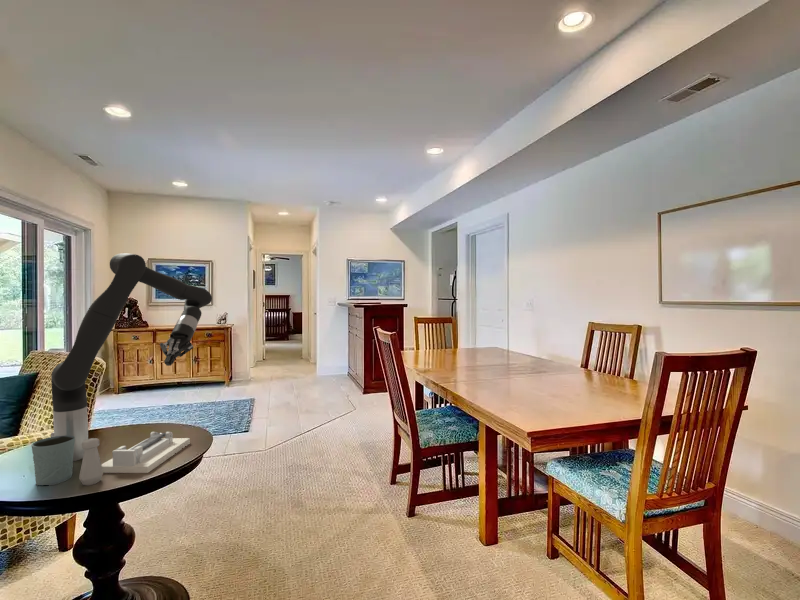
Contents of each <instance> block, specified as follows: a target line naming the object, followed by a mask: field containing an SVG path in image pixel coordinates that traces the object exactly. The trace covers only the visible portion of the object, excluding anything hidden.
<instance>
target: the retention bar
mask: <svg viewBox="0 0 800 600" xmlns="http://www.w3.org/2000/svg"><path fill="white" fill-rule="evenodd" d="M165 434H166V432H157V434H155V435H153V436H152V437H150V436H149V437H148V439H147V438H146V439H147V440H146V439H144V440H145V441H144V440H142V441H143V442H142V441H141V442H142V443H140V442H139V443H140V444H138V443H137V444H138V445H137V444H136V445H137V446H143V450H144V449H145V448H147V447H148V446H150V445H152V444H153V443H155V442H156V441H158V440H160V439H161V438H165ZM134 446H135V445H134ZM137 446H135V447H133V446H132V447H133V448H131V447H130V448H131V449H130V448H129V449H130V450H133V449H134V448H136V447H137Z"/></svg>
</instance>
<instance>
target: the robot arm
mask: <svg viewBox="0 0 800 600" xmlns="http://www.w3.org/2000/svg"><path fill="white" fill-rule="evenodd" d="M146 263H147V262H146V261H145V259H144V258H143V257H142V256H141V255H139V254H136V253H129V252H128V253H126V252H123V253H121V252H120V253H117V254H114V255H113V257H111V258H110V260H109V268H110V270H111V272H112V273H113V274H114V276H113V279H112V280H111V282H110V284H109V285H108V287H107V288H106V289H105V290H104V291H103V292H102V293H101V294H100V295H99V296H98V297H97V298H96V299H95V300H94V301H93V302H92V303H91V305H90V306H89V308H88V309H87V311H86V313H85V315H84V317H83V319H82V320H81V323H80V326H79V328H78V330H77V332H76V333H77V334H76V337H75V340H74V343H73V346H72V348H71V349H70V351H69V352H68V354H67V356H66V358H65V359H64V361H62V362H60V363H58V364H57V365H56V366H55V367H54V368H53V369H52V372H51V375H50V376H51V378H50V379H51V400H52V414H53V416H52V417H53V419H52V420H53V432H51V433H50V437H55V436H63V435H71V436H74V437H75V443H74V450H73V451H74V453H73V462H77V461H79V460H83V455H84V449H82V442H83V441H84V440H87V439H89V423H88V422H89V418H88V398H87V391H86V381H87V379H88V377H89V376H90V375H89V374H90V372H91V370H92V366H93V364H94V362H95V360H96V357H97V355H98V353H99V351H100V350H101V349H102V347H103V345H104V344H105V341H107V339H108V338H109V335H110V333H111V332H112V330H113V328H114V327H115V324H116V323H117V320H118V319H119V317H120V315H121V312H122V310H123V309H124V307H125V305H126V303H127V301H128V300H129V297H130V295H131V293H132V292H133V290H134V289H135V287H136V286H137V284H138V283H142V284H144V285H147V286H149V287H151V288H153V289H156V290H157V291H160V292H162V293H164V294H166V295H168V296H170V297H172V298H174V299H177V300H180V301H184V305H183V311H182V313H181V315H180V317H178V319H177V321H176V323H175V325H174V326H173V327H174V328H173V329H172V332H171V333H170V337H169V338H168V339H167V341H166V342H164V343H163V342H161V343H159V346H160V349H161V351H162V353H163V354H164V355H165V359H164V361H163V362H164V364H165V365H166V367H169V366H170V367H171V366H172V365H173V364H174V363H175V360H176V359H177V358H178V357H180V358H182V357H183V356H185V355H186V354H187V353H188V352H190V351H191V350H193V349H194V345H193V343H192V342H191V341H192V338H193V336H194V334H195V332H196V331H197V326H198V324H199V322H200V320H201V317H202V314H203V313H202V309H201V308H204V307H205V306H208V305H209V304H211V303H212V301H213V296H212V294H211V293H210V292H209V290H207V289H205V288H203V287H199V286H195V285H191V284H187V283H185V282H183V281H181V280H179V279H177V278H175V277H173V276H170V275H167V274H164V273H162V272H159V271H156V270H154V269H152V268H150V267H147V264H146Z"/></svg>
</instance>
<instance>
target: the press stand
mask: <svg viewBox="0 0 800 600" xmlns="http://www.w3.org/2000/svg"><path fill="white" fill-rule="evenodd" d="M157 433H158V432H157V431H151V432H150V434H149V437H148V438H150V437H152V436H153V435H155V434H157ZM165 433H166V434H165V436H164V437H163V438H161V439H160V440H158V441H156V442H155V443H153V444H152V445H150V446H148V447H147V448H145V449H144V450H143V446H137V445H138V444H140V443H142V442H143V441H145V440H147V439H148V438H146V439H144V440H142V441H141V442H138V443H137V444H135V445H134V446H132V447H130V448H128V449H127V445H121V446H120V447H117V448H116V449H114V450H112V458H110V459H108V460H107V461H105V462H103V463H101V465H102V470H103V474H105V473H106V474H108V473H109V474H111V473H112V474H115V473H116V474H119V473H121V474H123V473H124V474H148V473H149V472H151V471H153V470H154V469H156V468H157V467H158V466H160V465H161V464H162V463H164V462H165V461H167V460H168V459H169V458H171V457H173V456H174V455H176V454H177V453H178V452H180V451H181V450H183V449H184V448H186V447H187V446H188V445H190V443H191V439H190V438H189V437H184V438H183V437H181V438H180V437H179V438H178V437H173V435H174V434H173V431H165ZM135 446H137V447H136V448H134V449H133V450H130V449H131V448H133V447H135ZM185 446H186V447H185ZM182 448H183V449H182ZM175 453H176V454H175Z"/></svg>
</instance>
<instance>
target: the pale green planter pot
mask: <svg viewBox="0 0 800 600" xmlns="http://www.w3.org/2000/svg"><path fill="white" fill-rule="evenodd" d="M74 443H75V437H74V436H71V435H63V436H55V437H51V436H50V437H45V438H43V439H39V440H37V441H34V442H33V443H32V444H31V446H30V447H31V451H32V459H33V460H32V461H33V464H34V465H33V466H34V477H35V484H36V486H38V485H49V486H53V485H58V484H61V483H64V482H67V481H68V480H70V479H71V478H72V477H73V468H74V467H73V465H74V464H73V463H74V461H73V453H74V451H73V450H74Z"/></svg>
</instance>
